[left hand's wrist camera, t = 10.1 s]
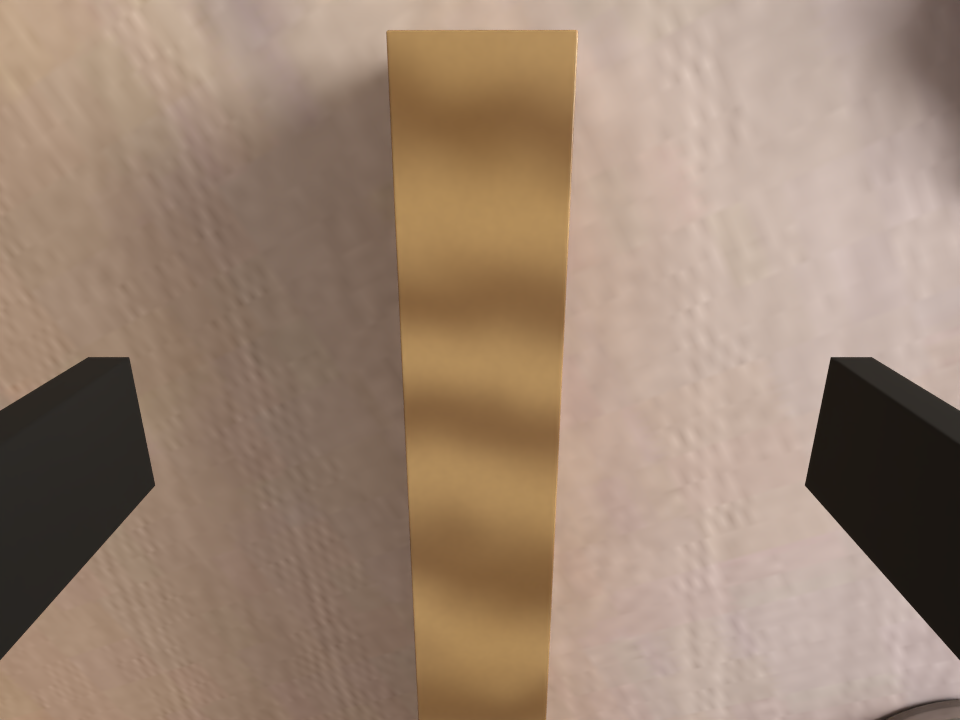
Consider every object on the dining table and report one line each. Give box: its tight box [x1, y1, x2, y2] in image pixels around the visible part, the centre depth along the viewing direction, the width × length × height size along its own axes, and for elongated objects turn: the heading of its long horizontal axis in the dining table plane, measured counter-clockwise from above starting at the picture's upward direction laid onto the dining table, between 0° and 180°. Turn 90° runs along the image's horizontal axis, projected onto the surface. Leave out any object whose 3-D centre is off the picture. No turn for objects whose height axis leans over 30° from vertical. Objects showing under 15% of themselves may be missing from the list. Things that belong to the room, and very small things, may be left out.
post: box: [386, 30, 578, 720], centre depth 33 cm, size 61×6×8 cm, turn 0°
